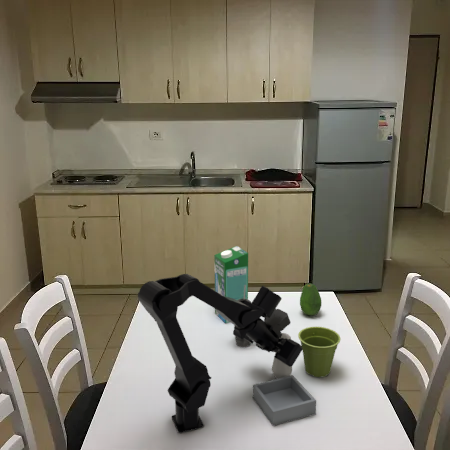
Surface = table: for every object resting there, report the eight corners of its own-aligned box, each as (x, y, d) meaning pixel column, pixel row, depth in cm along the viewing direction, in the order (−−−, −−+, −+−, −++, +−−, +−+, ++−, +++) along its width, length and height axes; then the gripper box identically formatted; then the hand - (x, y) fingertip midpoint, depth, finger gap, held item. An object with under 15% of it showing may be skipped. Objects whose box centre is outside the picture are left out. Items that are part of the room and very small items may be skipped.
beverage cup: (227, 346, 154) (227, 288, 148) (237, 336, 160) (238, 280, 155) (248, 351, 150) (249, 292, 145) (258, 341, 157) (258, 284, 151)
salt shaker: (291, 383, 134) (292, 341, 131) (270, 380, 135) (271, 339, 132) (292, 371, 140) (294, 331, 136) (272, 369, 141) (274, 329, 137)
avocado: (296, 310, 179) (298, 280, 175) (317, 309, 179) (319, 279, 176) (302, 320, 171) (303, 289, 168) (323, 319, 172) (325, 288, 168)
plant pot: (288, 366, 142) (290, 332, 139) (320, 356, 148) (322, 323, 145) (313, 387, 132) (315, 350, 129) (347, 375, 138) (349, 340, 135)
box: (315, 414, 121) (316, 400, 120) (273, 426, 117) (273, 411, 116) (292, 387, 132) (292, 375, 131) (252, 397, 128) (252, 384, 127)
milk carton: (214, 313, 177) (214, 248, 170) (236, 308, 180) (237, 245, 174) (225, 323, 169) (224, 256, 162) (248, 318, 172) (248, 252, 166)
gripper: (299, 317, 122) (325, 343, 131) (251, 293, 136) (278, 318, 145) (275, 354, 119) (304, 378, 129) (229, 326, 133) (258, 349, 143)
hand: (285, 354), depth 136 cm, fingers closed on salt shaker, 3 cm apart
